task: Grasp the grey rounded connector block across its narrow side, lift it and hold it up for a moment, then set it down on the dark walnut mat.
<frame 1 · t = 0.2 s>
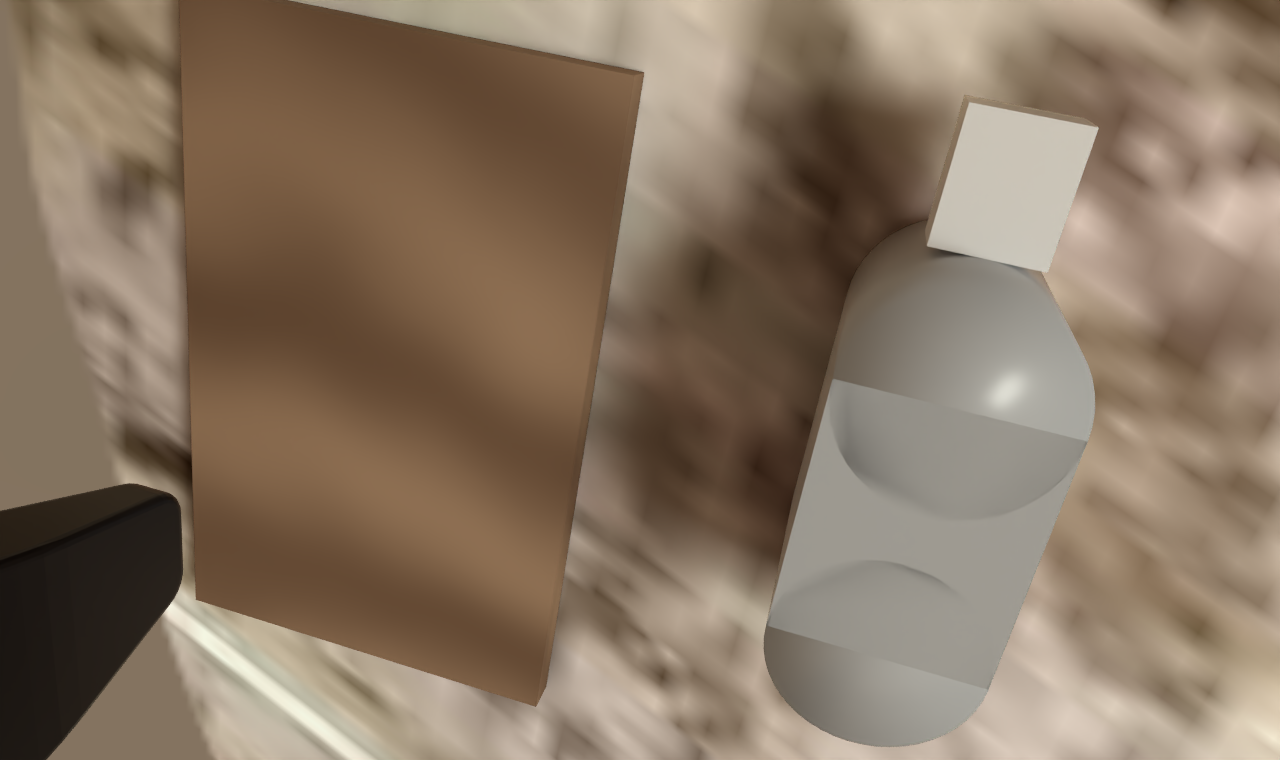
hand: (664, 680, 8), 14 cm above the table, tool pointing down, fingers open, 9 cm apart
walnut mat: (392, 371, 24), on the table
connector: (910, 422, 21), on the table
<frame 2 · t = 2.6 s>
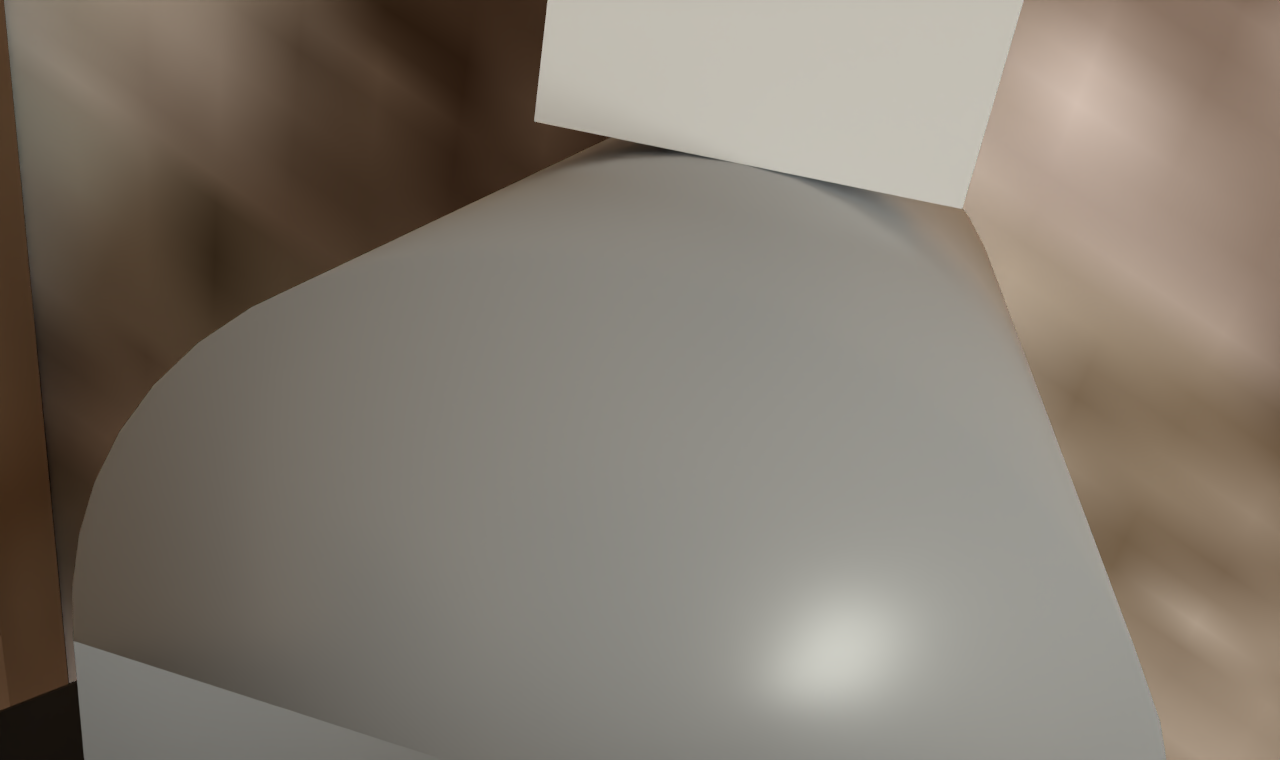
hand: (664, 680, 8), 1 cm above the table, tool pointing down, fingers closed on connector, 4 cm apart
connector: (692, 595, 9), on the table, touching gripper
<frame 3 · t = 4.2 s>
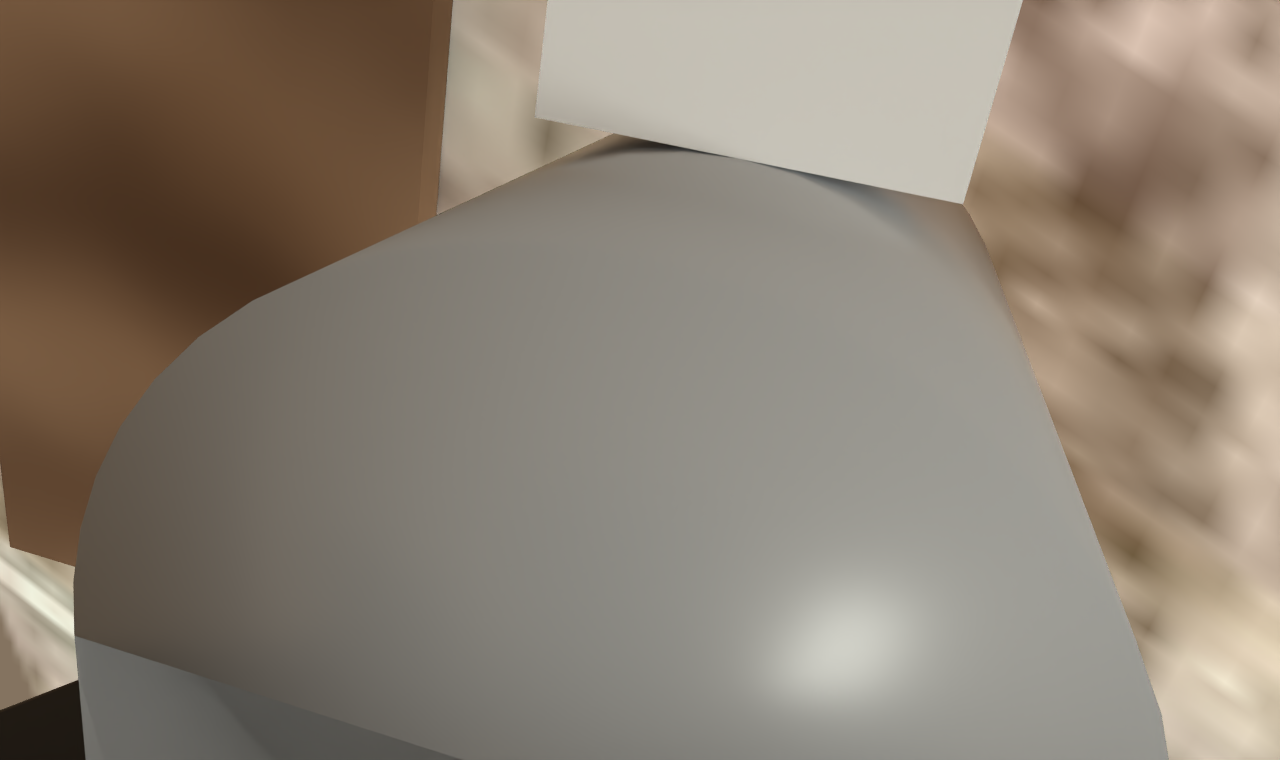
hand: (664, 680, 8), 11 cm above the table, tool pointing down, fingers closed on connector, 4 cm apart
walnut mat: (208, 270, 20), on the table
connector: (692, 593, 9), point 10 cm above the table, touching gripper
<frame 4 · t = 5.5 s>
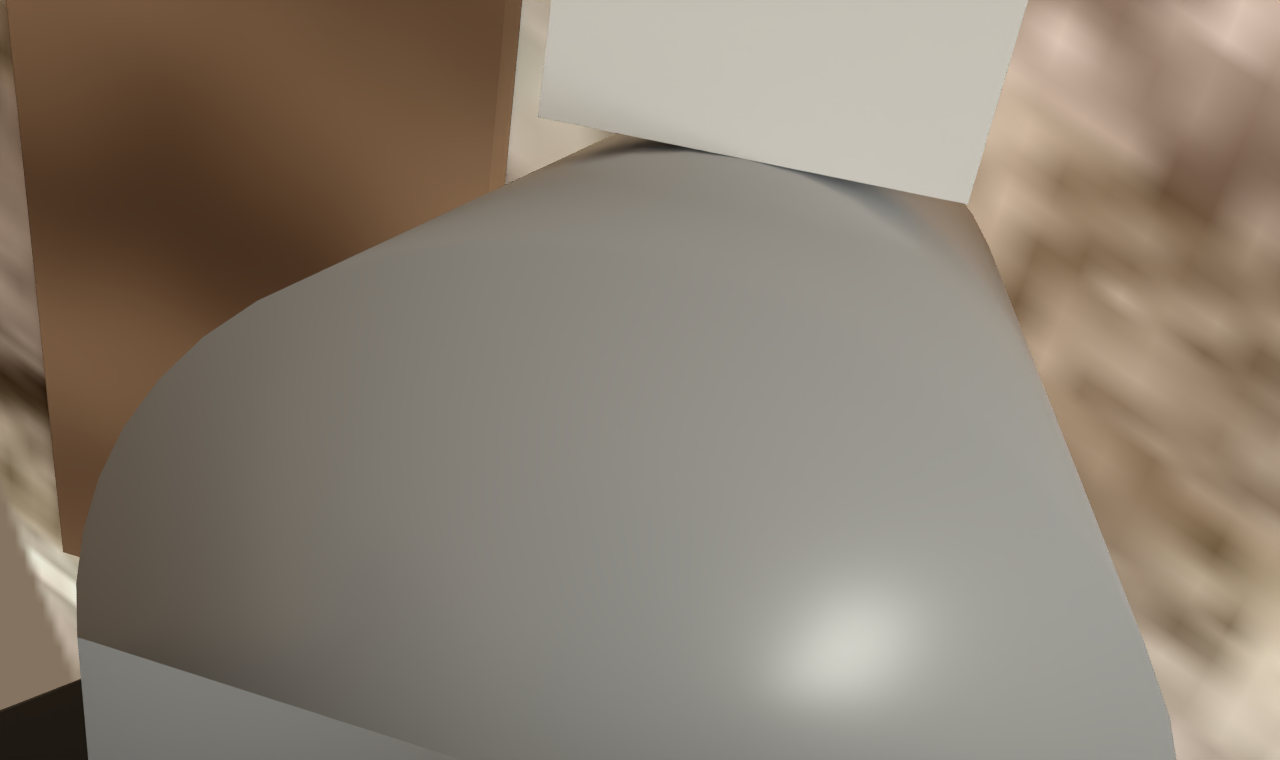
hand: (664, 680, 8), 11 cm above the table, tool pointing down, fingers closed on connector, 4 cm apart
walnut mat: (267, 271, 20), on the table
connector: (694, 594, 9), point 10 cm above the table, touching gripper
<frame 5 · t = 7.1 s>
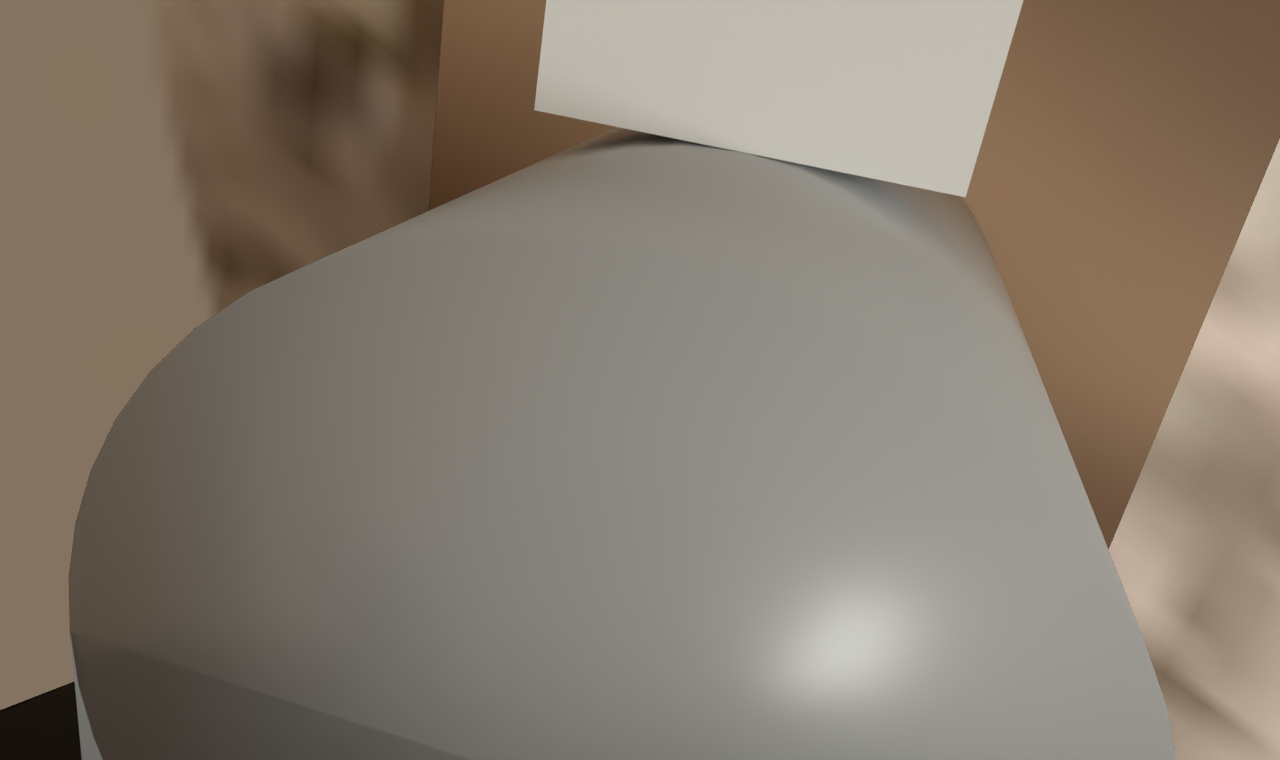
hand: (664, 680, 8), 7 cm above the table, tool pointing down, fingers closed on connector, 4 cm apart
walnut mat: (763, 375, 14), on the table
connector: (693, 591, 9), point 6 cm above the table, touching gripper
when the fingers open (3 cm above the table, at t = 8.4 s): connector drops 1 cm, resting on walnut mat.
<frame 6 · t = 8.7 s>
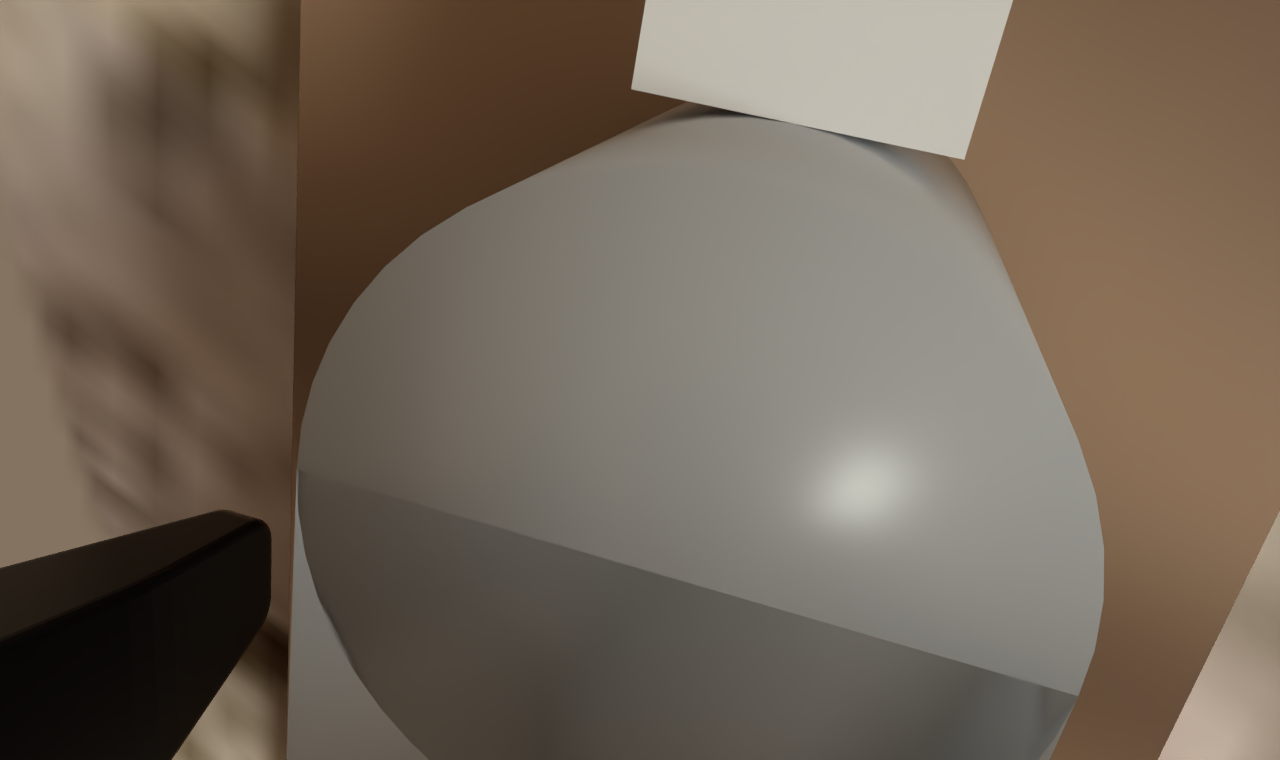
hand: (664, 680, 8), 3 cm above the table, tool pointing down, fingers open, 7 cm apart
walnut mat: (728, 484, 11), on the table
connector: (721, 517, 10), point 1 cm above the table, touching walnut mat
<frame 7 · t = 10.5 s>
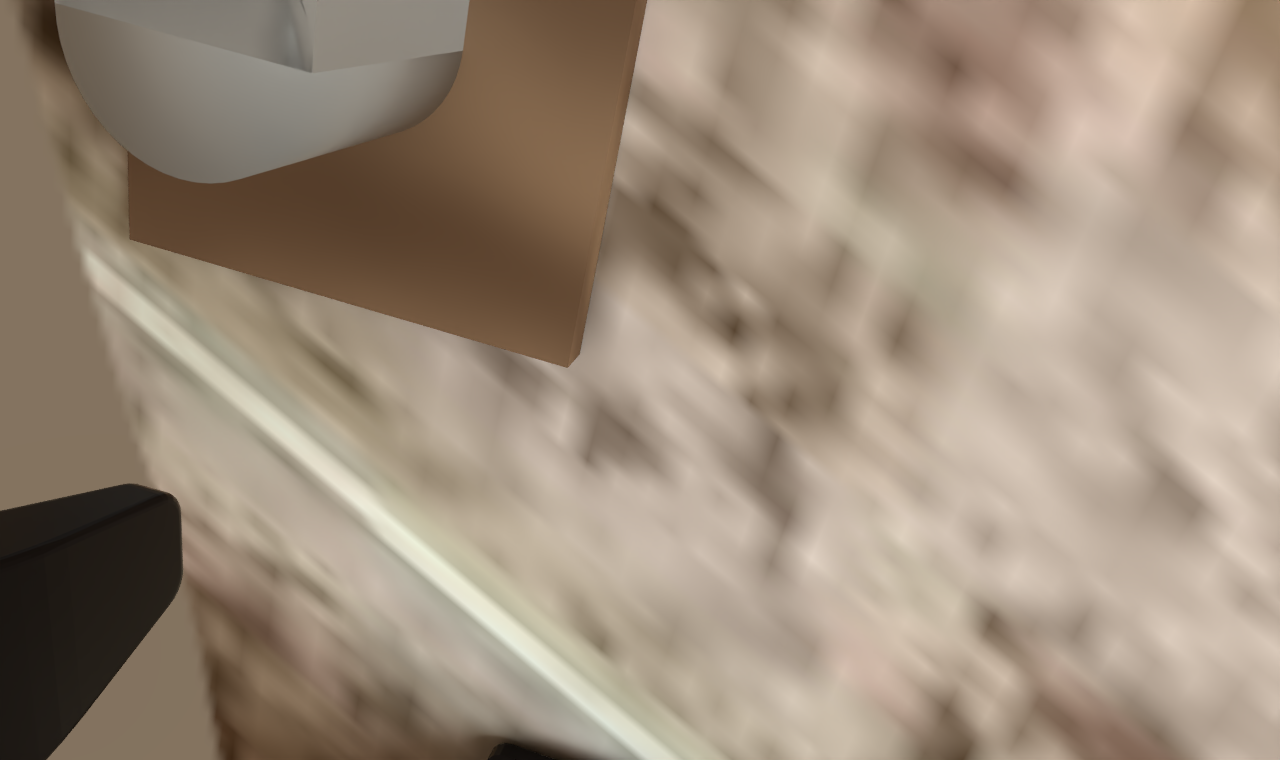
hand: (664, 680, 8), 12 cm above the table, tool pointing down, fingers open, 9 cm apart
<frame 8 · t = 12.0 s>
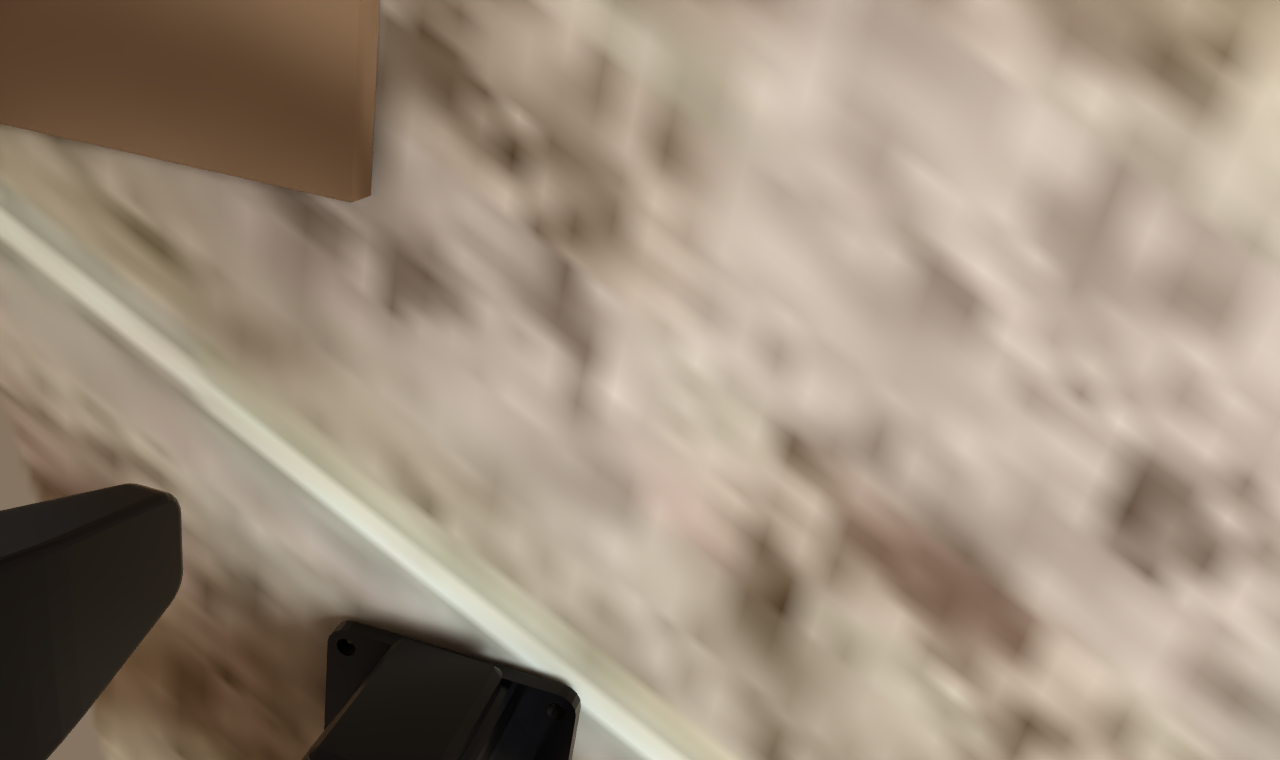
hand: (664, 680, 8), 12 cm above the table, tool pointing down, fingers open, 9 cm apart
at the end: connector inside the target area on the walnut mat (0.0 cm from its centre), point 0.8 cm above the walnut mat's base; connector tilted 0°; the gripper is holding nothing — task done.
